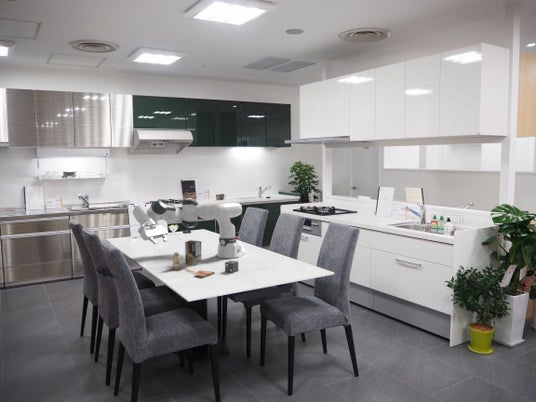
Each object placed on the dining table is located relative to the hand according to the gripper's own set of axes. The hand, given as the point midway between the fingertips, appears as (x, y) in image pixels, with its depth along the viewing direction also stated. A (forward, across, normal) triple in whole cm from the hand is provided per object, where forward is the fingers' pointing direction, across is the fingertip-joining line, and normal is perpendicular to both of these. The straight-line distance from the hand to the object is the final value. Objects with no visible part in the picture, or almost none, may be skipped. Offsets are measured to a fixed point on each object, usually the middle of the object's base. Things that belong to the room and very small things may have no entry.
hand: (160, 242), depth 292 cm
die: (+43, -16, +19) cm, 50 cm away
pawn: (+20, 0, -2) cm, 20 cm away
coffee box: (+21, -17, -3) cm, 27 cm away
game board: (+28, 0, +4) cm, 29 cm away
